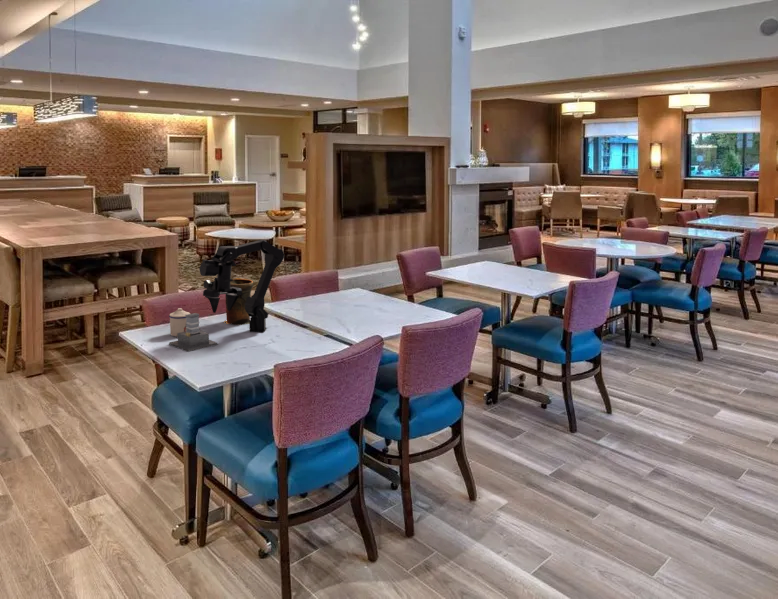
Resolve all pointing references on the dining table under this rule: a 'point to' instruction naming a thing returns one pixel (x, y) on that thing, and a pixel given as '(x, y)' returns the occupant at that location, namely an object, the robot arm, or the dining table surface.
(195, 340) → the stand base
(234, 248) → the robot arm
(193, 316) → the column
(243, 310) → the vessel
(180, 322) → the teacup with lid
